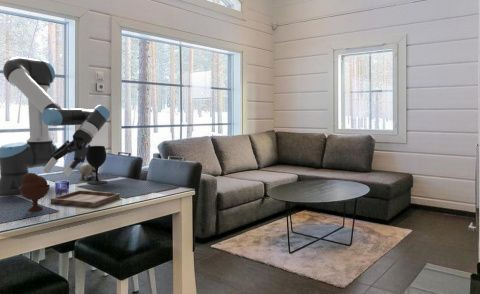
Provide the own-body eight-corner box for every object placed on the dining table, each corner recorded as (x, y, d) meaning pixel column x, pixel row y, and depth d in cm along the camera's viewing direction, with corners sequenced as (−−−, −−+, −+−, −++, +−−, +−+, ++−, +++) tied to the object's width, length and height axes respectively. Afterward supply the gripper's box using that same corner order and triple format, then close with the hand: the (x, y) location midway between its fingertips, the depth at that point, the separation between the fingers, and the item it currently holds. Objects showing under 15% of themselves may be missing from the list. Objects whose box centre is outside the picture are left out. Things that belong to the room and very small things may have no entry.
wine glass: (100, 185, 200) (99, 147, 198) (82, 184, 202) (81, 147, 200) (110, 181, 210) (109, 145, 208) (93, 180, 212) (92, 145, 210)
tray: (50, 203, 160) (50, 198, 159) (79, 194, 177) (79, 190, 177) (94, 207, 153) (94, 202, 153) (120, 198, 171) (120, 193, 170)
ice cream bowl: (30, 215, 142) (28, 176, 141) (14, 210, 148) (12, 173, 146) (56, 209, 151) (55, 172, 150) (40, 205, 157) (39, 169, 155)
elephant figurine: (72, 176, 209) (79, 153, 216) (79, 186, 220) (86, 164, 228) (86, 178, 209) (93, 154, 216) (92, 188, 221) (99, 165, 228)
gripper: (109, 141, 162) (80, 181, 150) (72, 138, 174) (43, 175, 163) (98, 129, 157) (67, 170, 145) (61, 127, 169) (31, 164, 158)
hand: (55, 173), depth 154 cm, fingers open, 13 cm apart
